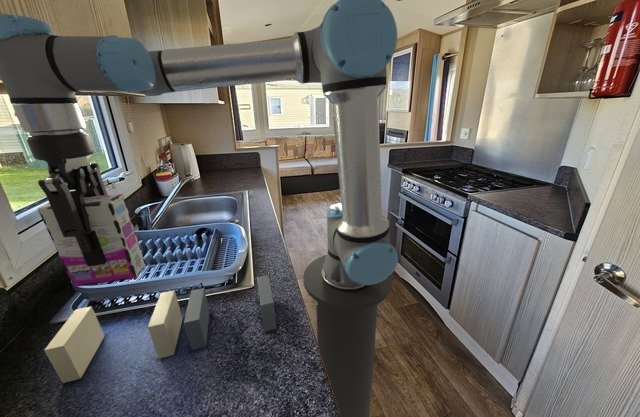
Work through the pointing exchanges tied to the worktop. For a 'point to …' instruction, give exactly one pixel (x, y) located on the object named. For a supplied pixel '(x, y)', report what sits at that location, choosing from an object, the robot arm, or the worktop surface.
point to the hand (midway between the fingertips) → (104, 255)
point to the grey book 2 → (266, 303)
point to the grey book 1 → (197, 319)
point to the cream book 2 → (165, 324)
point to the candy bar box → (113, 237)
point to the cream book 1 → (75, 344)
